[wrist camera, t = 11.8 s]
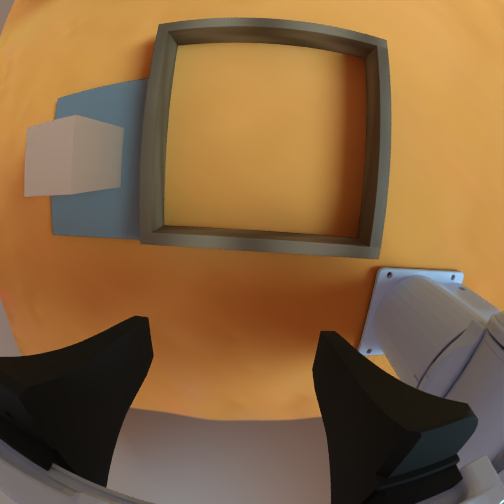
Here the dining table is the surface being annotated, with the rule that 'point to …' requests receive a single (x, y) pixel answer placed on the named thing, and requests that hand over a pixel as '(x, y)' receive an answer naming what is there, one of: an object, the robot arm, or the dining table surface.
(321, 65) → the dining table surface
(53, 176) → the block
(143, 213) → the grey square frame
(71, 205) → the mat
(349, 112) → the dining table surface
